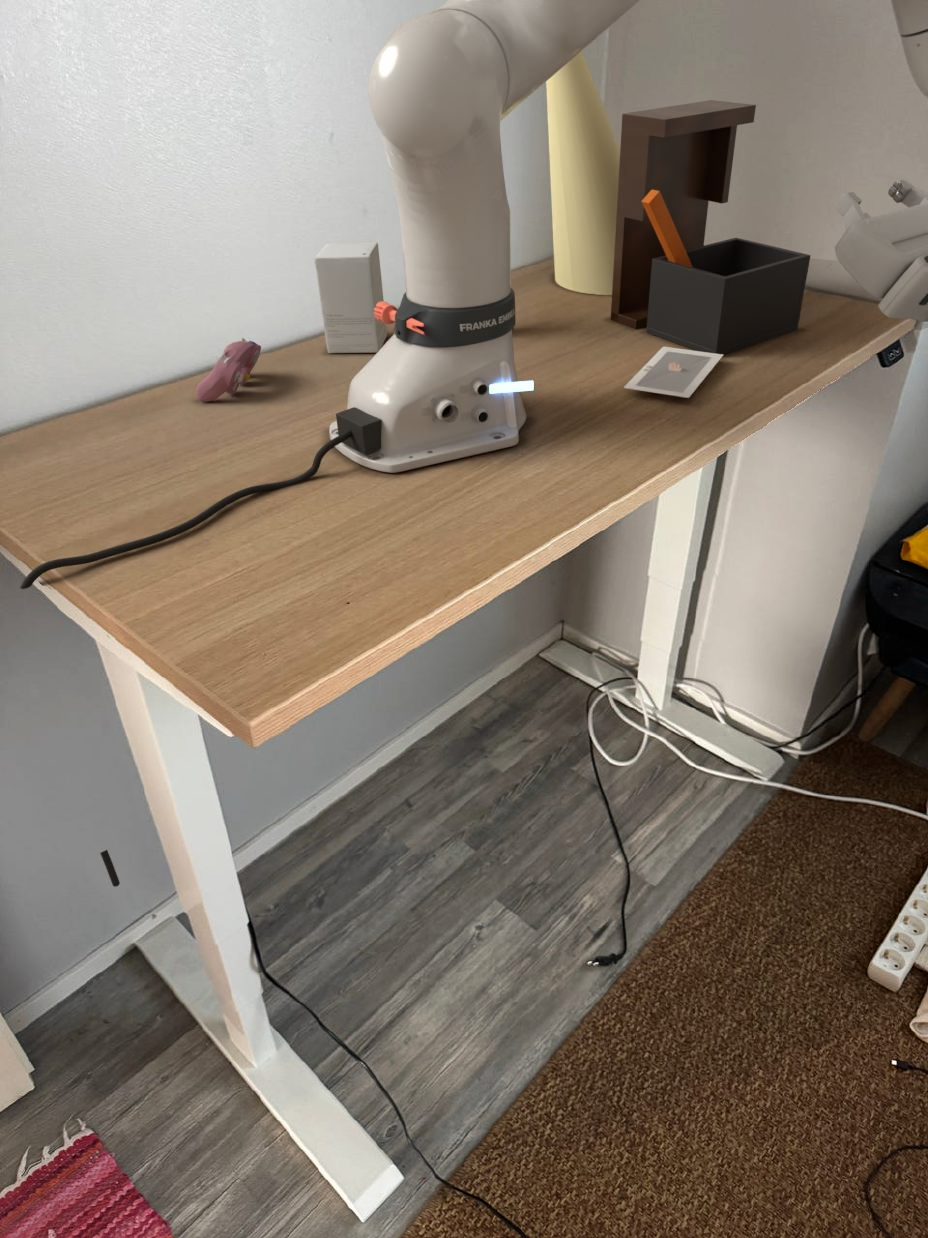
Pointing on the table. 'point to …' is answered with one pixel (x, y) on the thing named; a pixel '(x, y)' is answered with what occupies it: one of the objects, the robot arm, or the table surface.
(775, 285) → the basket
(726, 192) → the shelf stand
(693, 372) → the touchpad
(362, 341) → the white packaging box
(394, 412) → the robot arm
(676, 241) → the orange croquet mallet
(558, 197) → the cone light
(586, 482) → the table surface
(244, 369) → the video game controller
